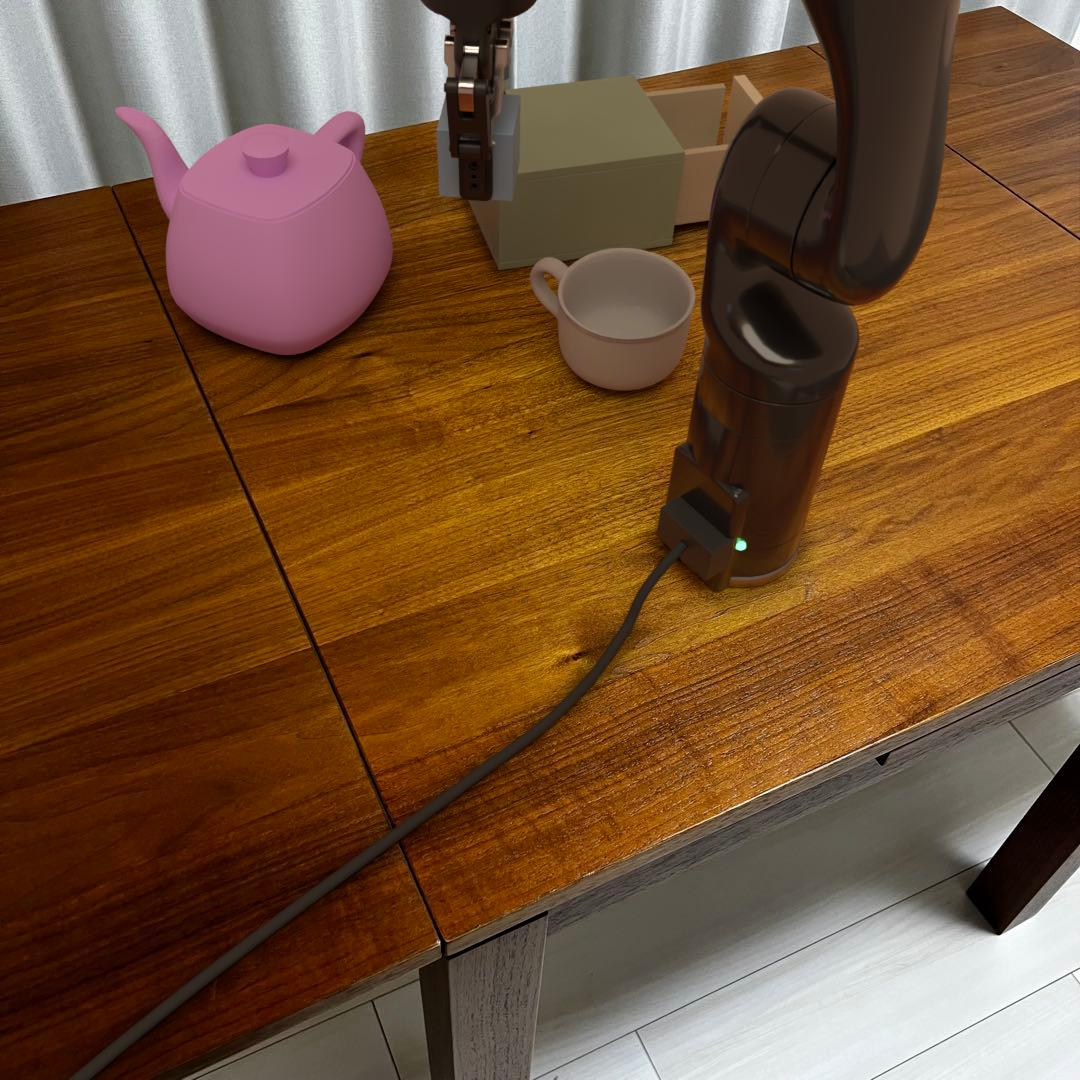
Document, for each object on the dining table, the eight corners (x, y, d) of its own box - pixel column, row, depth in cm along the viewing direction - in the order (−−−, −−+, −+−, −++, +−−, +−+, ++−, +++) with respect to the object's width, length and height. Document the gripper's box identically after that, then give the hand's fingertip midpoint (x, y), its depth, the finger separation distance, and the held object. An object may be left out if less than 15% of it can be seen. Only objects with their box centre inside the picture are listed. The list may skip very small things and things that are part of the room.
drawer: (771, 142, 121) (786, 69, 115) (824, 211, 113) (842, 136, 107) (585, 167, 117) (591, 92, 111) (626, 239, 109) (635, 163, 103)
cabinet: (624, 166, 119) (633, 74, 111) (672, 245, 110) (685, 151, 103) (462, 187, 115) (460, 94, 108) (498, 270, 107) (499, 175, 99)
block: (512, 201, 81) (513, 134, 77) (439, 196, 81) (436, 129, 77) (519, 161, 84) (520, 94, 80) (449, 156, 84) (446, 89, 80)
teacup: (709, 366, 99) (724, 288, 93) (625, 430, 94) (634, 351, 88) (584, 292, 105) (590, 214, 99) (498, 348, 100) (499, 269, 94)
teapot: (444, 255, 108) (440, 99, 97) (311, 391, 95) (288, 231, 84) (238, 183, 114) (211, 30, 103) (88, 303, 102) (38, 142, 90)
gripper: (431, -136, 74) (441, 116, 87) (392, -33, 65) (411, 232, 78) (551, -129, 74) (544, 123, 87) (530, -24, 64) (525, 240, 77)
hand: (481, 173), depth 82 cm, fingers closed on block, 5 cm apart
